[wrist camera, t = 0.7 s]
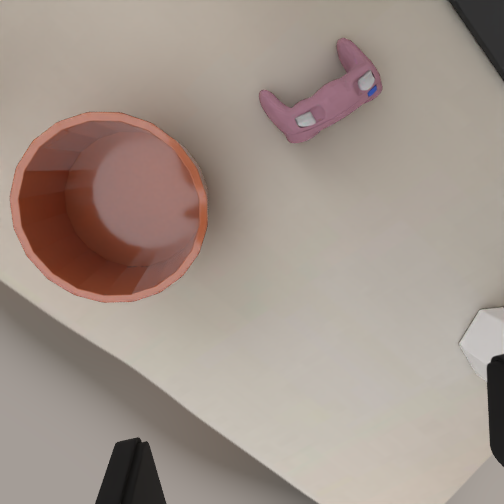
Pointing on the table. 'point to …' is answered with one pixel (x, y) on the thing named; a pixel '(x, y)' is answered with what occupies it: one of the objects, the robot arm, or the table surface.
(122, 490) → the robot arm
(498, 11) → the phone
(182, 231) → the pen pot
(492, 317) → the jar
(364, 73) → the video game controller
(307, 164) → the table surface
